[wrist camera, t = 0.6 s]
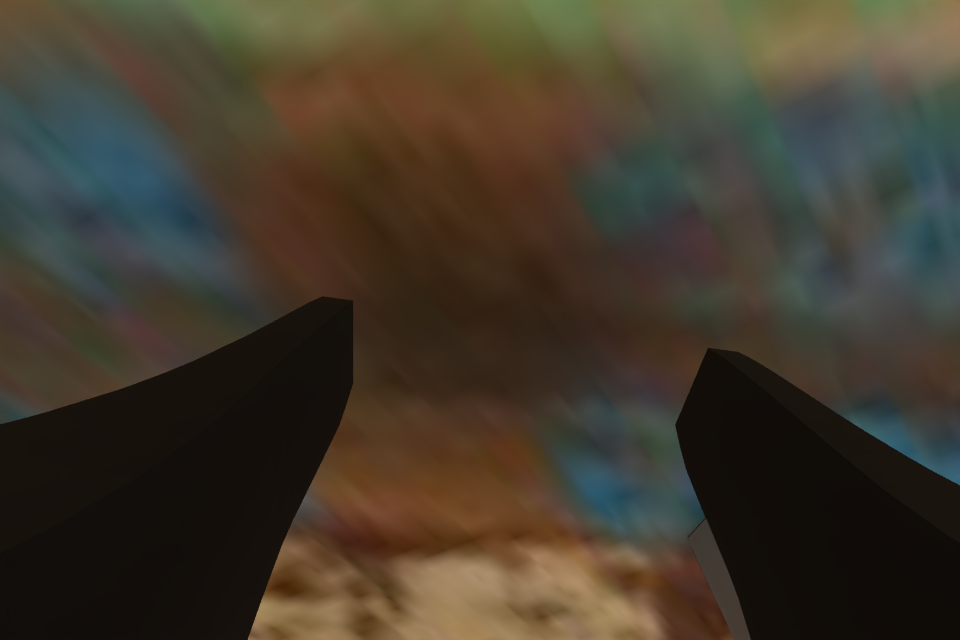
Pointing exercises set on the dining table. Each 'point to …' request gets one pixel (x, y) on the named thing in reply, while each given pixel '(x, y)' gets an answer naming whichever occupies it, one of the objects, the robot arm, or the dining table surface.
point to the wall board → (718, 579)
